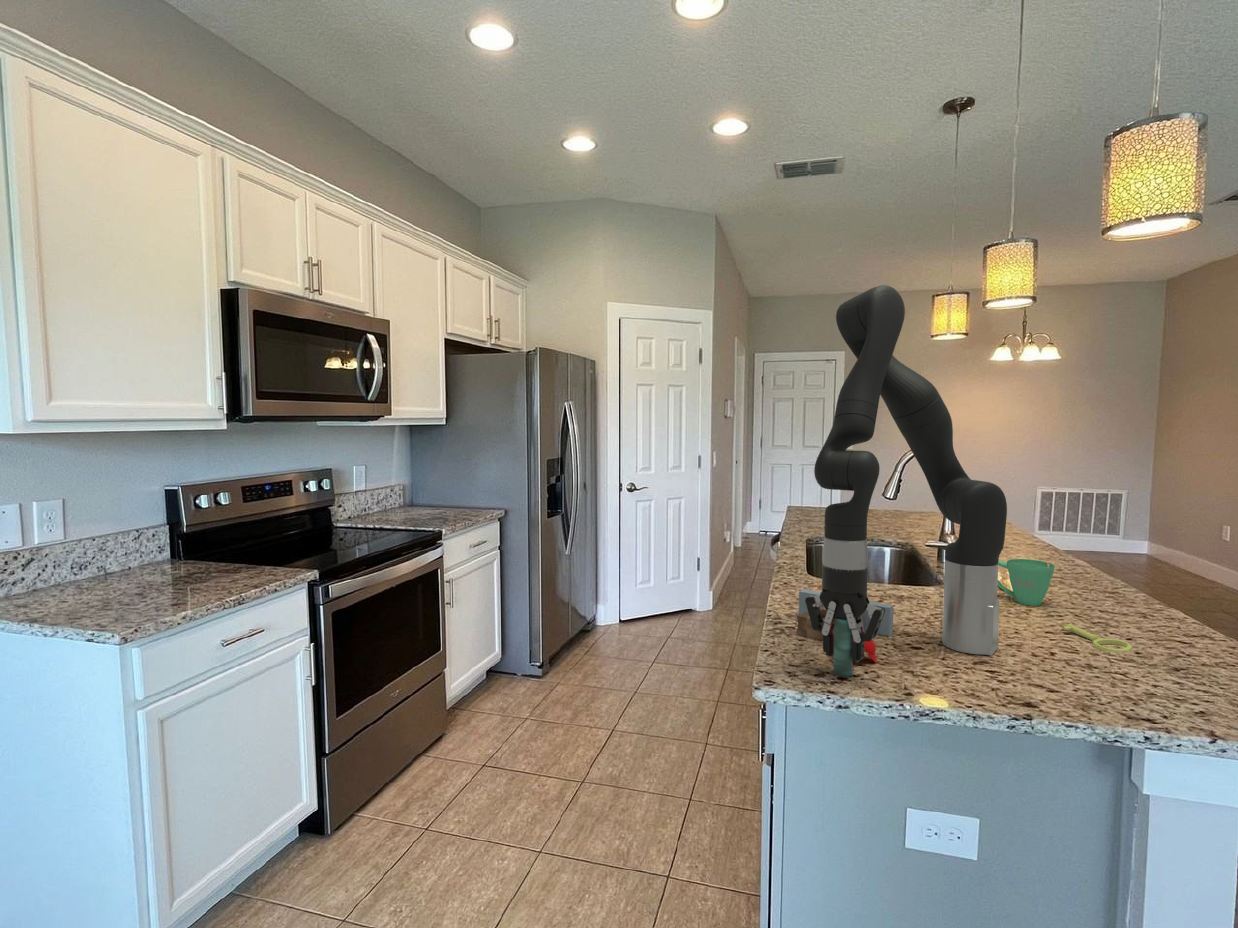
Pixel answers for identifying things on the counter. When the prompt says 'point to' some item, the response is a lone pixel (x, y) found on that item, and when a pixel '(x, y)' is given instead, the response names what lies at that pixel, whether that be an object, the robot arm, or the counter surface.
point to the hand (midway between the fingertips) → (842, 657)
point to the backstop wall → (887, 620)
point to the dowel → (842, 648)
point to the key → (1100, 640)
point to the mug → (1027, 580)
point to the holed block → (806, 626)
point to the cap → (870, 649)
